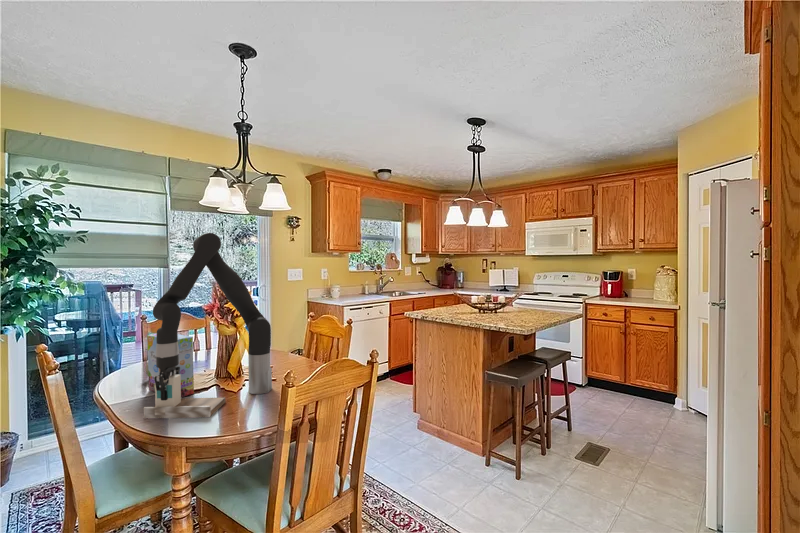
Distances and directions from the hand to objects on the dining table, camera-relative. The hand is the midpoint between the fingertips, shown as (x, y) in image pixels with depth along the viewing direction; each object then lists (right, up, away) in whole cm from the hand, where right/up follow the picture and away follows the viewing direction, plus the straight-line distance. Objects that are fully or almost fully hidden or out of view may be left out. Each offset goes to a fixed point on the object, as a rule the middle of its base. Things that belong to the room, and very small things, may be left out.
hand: (168, 397), depth 150 cm
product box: (0, -3, 0) cm, 3 cm away
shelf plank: (+6, -6, +3) cm, 9 cm away
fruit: (-29, -5, +41) cm, 51 cm away
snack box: (-12, -6, +22) cm, 26 cm away
